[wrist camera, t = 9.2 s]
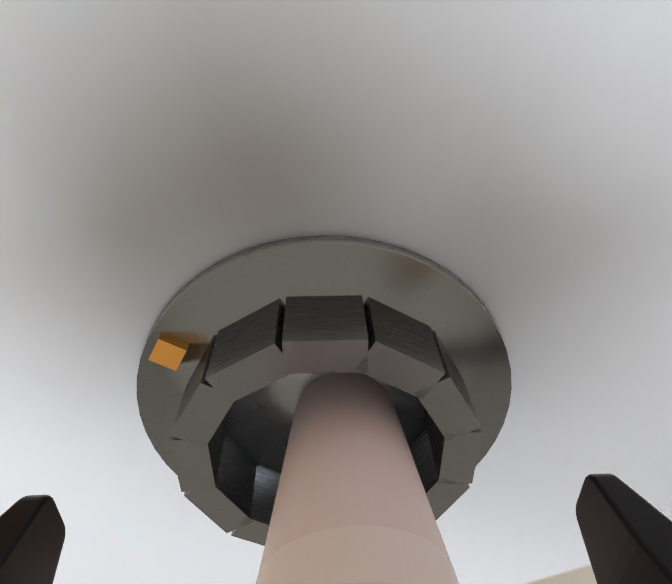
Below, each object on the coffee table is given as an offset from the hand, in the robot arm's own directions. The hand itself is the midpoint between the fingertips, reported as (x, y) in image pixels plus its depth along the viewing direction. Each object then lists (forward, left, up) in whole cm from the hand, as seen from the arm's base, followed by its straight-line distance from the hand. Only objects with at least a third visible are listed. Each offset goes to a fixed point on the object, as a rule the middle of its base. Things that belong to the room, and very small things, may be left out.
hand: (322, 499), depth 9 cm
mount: (-3, +6, -10) cm, 12 cm away
